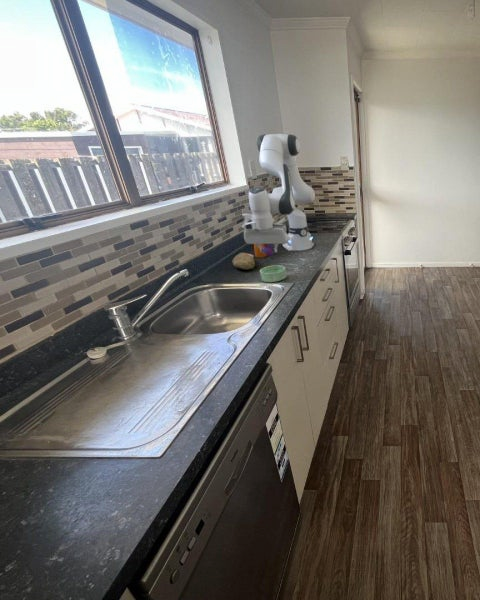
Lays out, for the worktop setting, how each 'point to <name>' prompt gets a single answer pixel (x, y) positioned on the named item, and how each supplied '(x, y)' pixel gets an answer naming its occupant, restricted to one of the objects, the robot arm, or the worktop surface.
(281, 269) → the bowl
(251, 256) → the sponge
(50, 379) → the worktop surface
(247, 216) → the spray bottle
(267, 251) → the ball
